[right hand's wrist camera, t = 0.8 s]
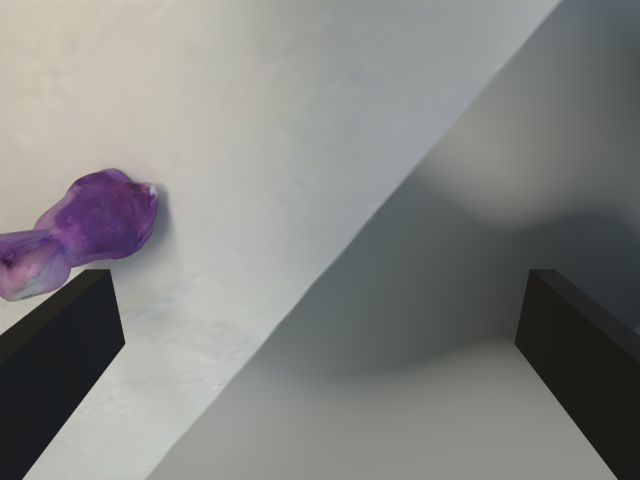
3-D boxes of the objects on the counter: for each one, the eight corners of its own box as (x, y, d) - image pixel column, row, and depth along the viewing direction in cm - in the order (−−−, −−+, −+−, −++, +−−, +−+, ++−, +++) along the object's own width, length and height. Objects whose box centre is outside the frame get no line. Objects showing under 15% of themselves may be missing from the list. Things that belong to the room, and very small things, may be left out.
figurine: (65, 249, 42) (-65, 331, 28) (69, 154, 38) (-77, 192, 24) (155, 271, 42) (74, 360, 28) (167, 179, 39) (82, 230, 25)
